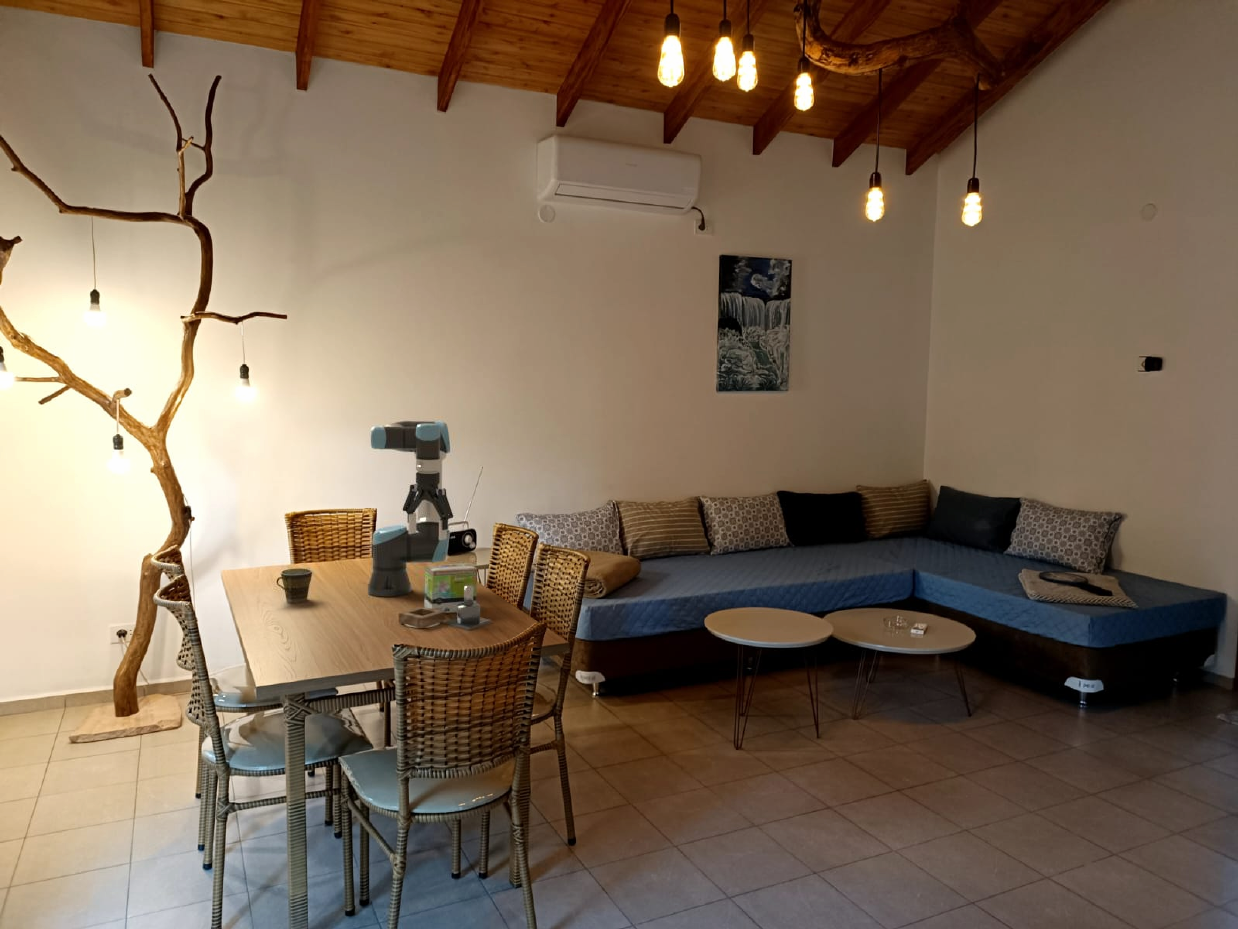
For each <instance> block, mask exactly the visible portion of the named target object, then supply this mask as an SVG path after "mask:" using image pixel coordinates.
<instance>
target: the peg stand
mask: <svg viewBox="0 0 1238 929" xmlns="http://www.w3.org/2000/svg"><path fill="white" fill-rule="evenodd" d="M444 622H445V623H444V624H445V625H446V626H449V627H454V628H459V629H463V630H465V631H466V630H467V631H471V630H475V629H477V628H481V627H483V626H486V625H490V624H491V623H492V620H491V619H488V618H483V617H481V603H478V602H476V603H474V602H473V586H471V585H467V586H464V603H459V604H457V612H456V617H455V618H453V619H452V618H451V619H449V620H445V621H444ZM489 623H490V624H489Z"/></svg>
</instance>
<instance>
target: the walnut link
mask: <svg viewBox="0 0 1238 929" xmlns="http://www.w3.org/2000/svg"><path fill="white" fill-rule="evenodd" d="M445 621H446V613H445V611H440V610H436V609H431V608H427V607H424V606H419V607H415V608H411V609H408V610H405V611H402V612H399V613H398V623H399V624H403V625H405V624H408V625H412V626H416V627H420V628H419V629H423V628H424V627H427V626H430V625H433V624H437V623H443V622H445ZM427 628H428V627H427Z"/></svg>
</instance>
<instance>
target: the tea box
mask: <svg viewBox="0 0 1238 929" xmlns="http://www.w3.org/2000/svg"><path fill="white" fill-rule="evenodd" d="M424 576H425V578H424V603H423V605H424V606H423V607H427V608H431V609H436V610H440V611H445V614H450V613H457V604H459V603H464V586H467V585H471V586H473V602H474V603H477V585H478V584H477V583H478V582H477V581H478V578H477V577H478V568H476V567H475V566H474V565H472V564H471V563H470V562H459V563H445V564H443V563H442V564H428V565H427V564H426V565H425V575H424Z"/></svg>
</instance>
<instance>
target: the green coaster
mask: <svg viewBox="0 0 1238 929" xmlns="http://www.w3.org/2000/svg"><path fill="white" fill-rule="evenodd" d="M440 623H441V622H440ZM440 623H437V624H433V625H430V626H427V627H424V628H425V629H426V628H432V627H436V626H438V625H440ZM404 626H405V627H408V628H415V629H421V628H420V627H416V626H412V625H408V624H404Z"/></svg>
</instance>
